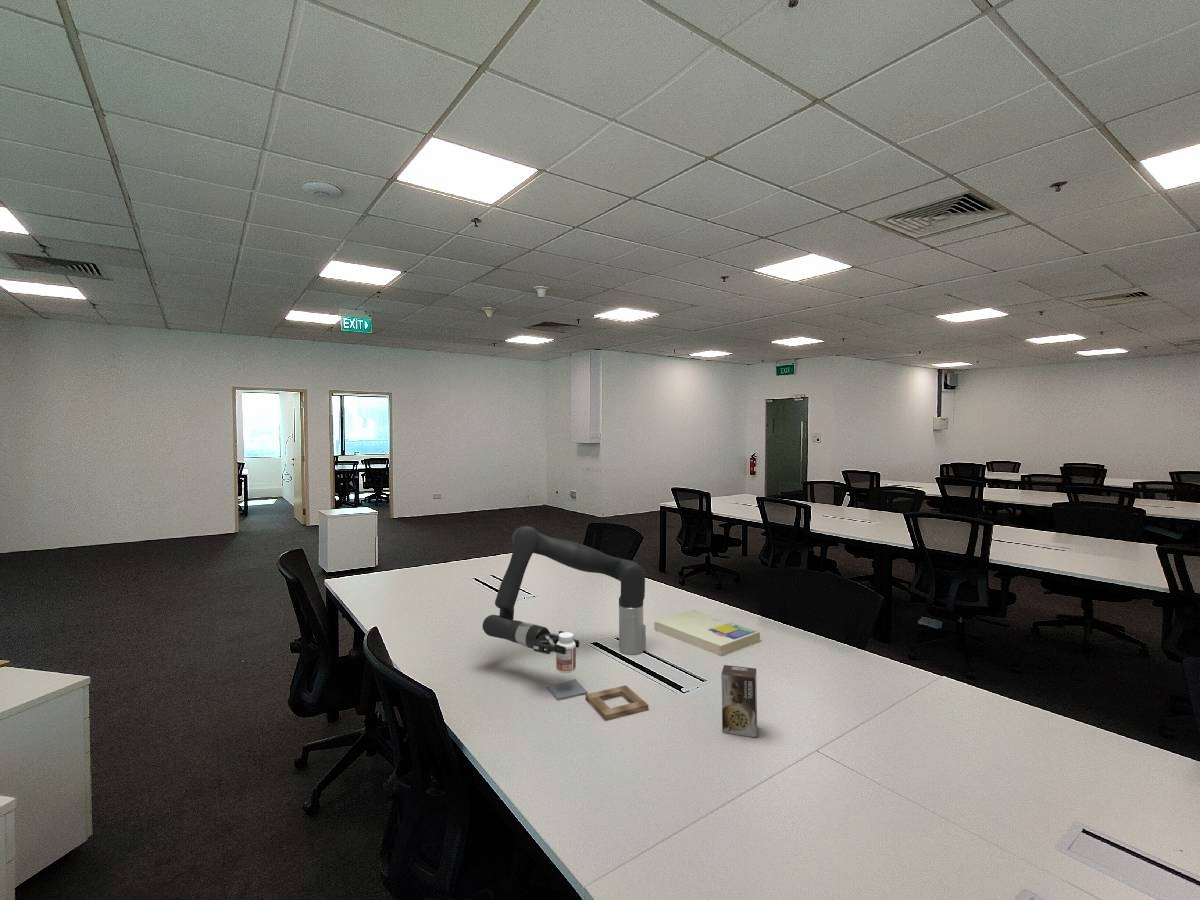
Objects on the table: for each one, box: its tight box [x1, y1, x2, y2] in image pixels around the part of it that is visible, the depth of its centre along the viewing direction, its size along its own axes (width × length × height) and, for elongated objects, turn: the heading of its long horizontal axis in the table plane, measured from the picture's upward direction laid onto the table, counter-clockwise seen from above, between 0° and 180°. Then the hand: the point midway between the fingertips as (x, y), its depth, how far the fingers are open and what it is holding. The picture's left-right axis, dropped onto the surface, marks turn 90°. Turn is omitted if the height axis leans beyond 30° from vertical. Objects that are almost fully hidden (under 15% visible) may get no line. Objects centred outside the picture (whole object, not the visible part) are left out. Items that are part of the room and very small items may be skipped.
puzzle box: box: [653, 609, 761, 657], centre depth 216 cm, size 36×5×24 cm
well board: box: [585, 685, 649, 722], centre depth 159 cm, size 14×14×2 cm
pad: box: [546, 678, 589, 701], centre depth 169 cm, size 10×10×1 cm
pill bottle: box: [555, 631, 577, 674], centre depth 169 cm, size 6×6×11 cm
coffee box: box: [720, 664, 758, 738], centre depth 145 cm, size 9×6×16 cm
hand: (572, 647), depth 167 cm, fingers closed on pill bottle, 6 cm apart
